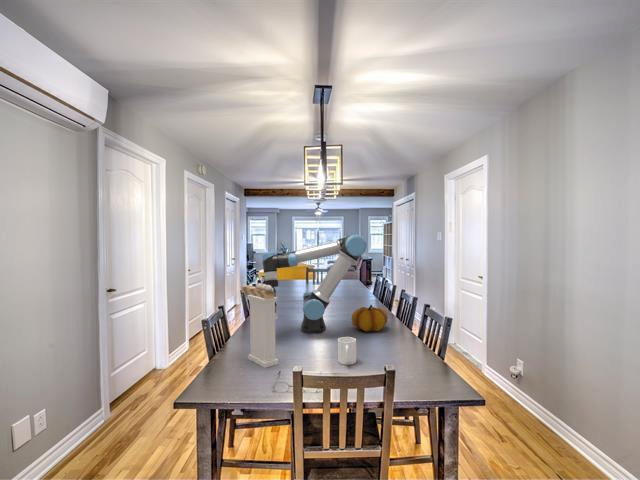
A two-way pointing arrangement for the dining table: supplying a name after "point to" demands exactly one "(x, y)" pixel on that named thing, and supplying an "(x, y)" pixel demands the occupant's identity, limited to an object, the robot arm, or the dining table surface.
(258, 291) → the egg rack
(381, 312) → the decorative pumpkin
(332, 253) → the robot arm
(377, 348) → the dining table surface
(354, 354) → the cup
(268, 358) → the pedestal
